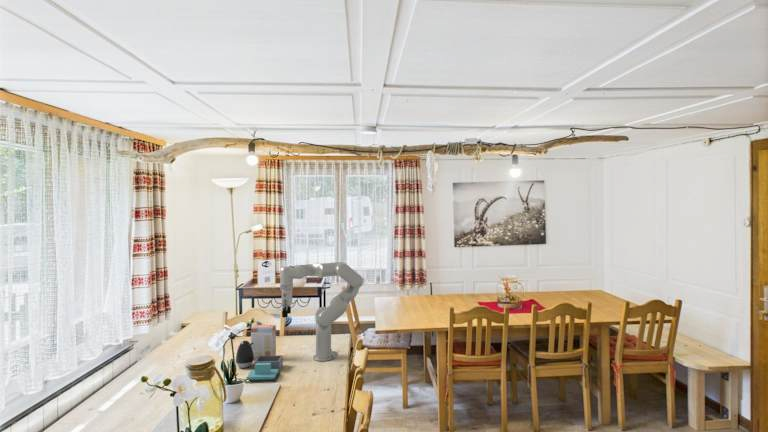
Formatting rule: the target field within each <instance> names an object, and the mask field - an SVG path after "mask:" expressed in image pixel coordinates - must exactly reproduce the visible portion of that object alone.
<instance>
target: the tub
mask: <svg viewBox="0 0 768 432" xmlns="http://www.w3.org/2000/svg"><path fill="white" fill-rule="evenodd" d="M283 357H284V355H282V354H280V355H279V354H276V356H258V358H257V359H256V360H255V361H253V370H255V364H256V363H271V369H279V371H278V373H279V372H281V370H282V368H283V366H284V365H283V364H284V363H283V362H284V360H283V359H284V358H283Z"/></svg>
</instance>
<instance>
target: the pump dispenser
mask: <svg viewBox="0 0 768 432" xmlns="http://www.w3.org/2000/svg"><path fill="white" fill-rule="evenodd" d="M252 344H253V342H252V343H251V342H250V341H249V340H247V339H246V340H243V341H241V342H240V343H239V345H238V347H237V350H236V351H237V352H236V355H235V363H236V364H235V365H237V367H238V368H241V369H247V368H249V367H251V366H252V364H254V361H253V360H254V354H253V350H252V347H251V345H252Z"/></svg>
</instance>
